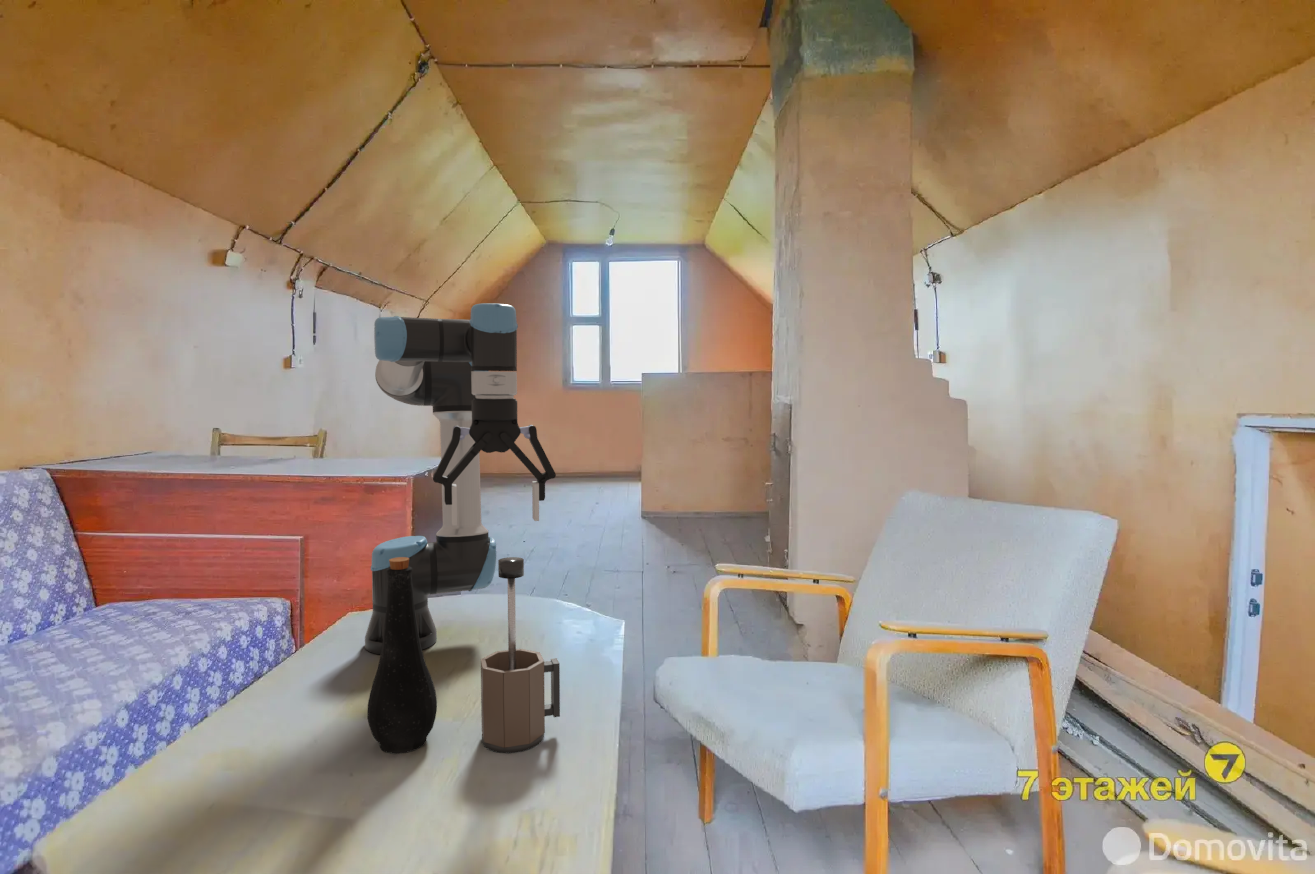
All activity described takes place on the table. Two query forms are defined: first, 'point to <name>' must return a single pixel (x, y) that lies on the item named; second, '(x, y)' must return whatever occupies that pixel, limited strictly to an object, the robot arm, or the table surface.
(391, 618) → the bottle
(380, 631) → the robot arm
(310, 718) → the table surface
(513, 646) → the plunger
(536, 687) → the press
